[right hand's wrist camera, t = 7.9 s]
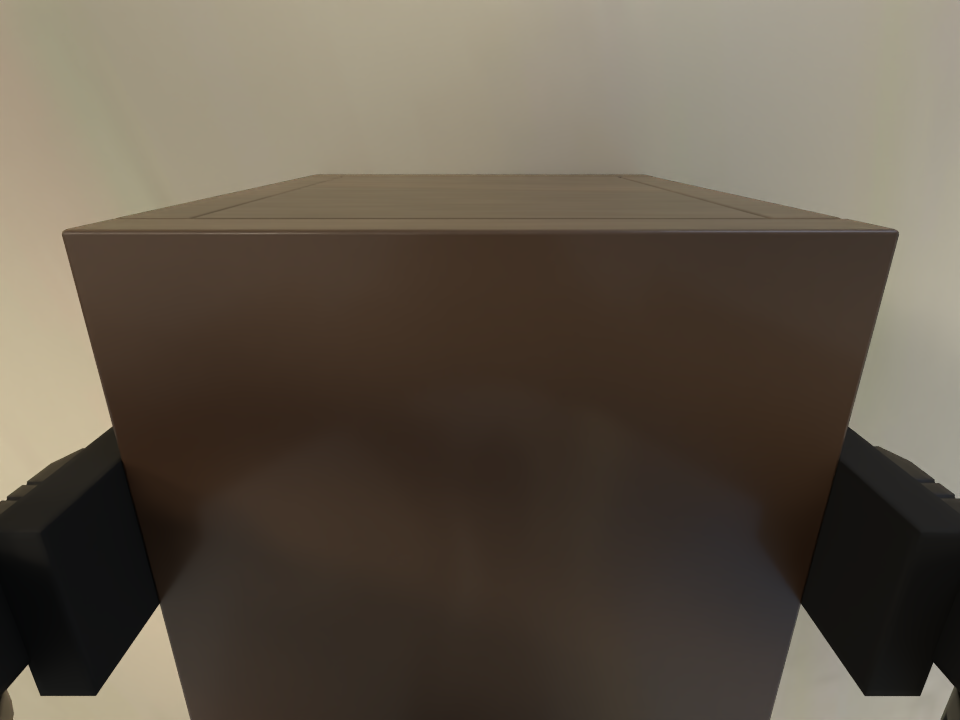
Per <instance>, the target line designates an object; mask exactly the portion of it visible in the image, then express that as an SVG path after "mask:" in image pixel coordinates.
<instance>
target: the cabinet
mask: <svg viewBox="0 0 960 720" xmlns="http://www.w3.org/2000/svg"><path fill="white" fill-rule="evenodd" d="M62 236H63V240H64V244H65V248H66V252H67V255H68V259H69V263H70V267H71V270H72V274H73V278H74V282H75V285H76V289H77V293H78V297H79V301H80V304H81V308H82V312H83V316H84V319H85V323H86V327H87V331H88V335H89V338H90V342H91V346H92V350H93V353H94V357H95V361H96V365H97V368H98V372H99V376H100V380H101V384H102V387H103V391H104V395H105V399H106V402H107V406H108V410H109V414H110V418H111V421H112V425H113V429H114V433H115V436H116V440H117V444H118V448H119V451H120V455H121V459H122V463H123V467H124V470H125V474H126V478H127V482H128V485H129V489H130V493H131V497H132V501H133V504H134V508H135V512H136V516H137V519H138V523H139V527H140V531H141V534H142V538H143V542H144V546H145V550H146V553H147V557H148V561H149V565H150V568H151V572H152V576H153V580H154V583H155V587H156V591H157V595H158V599H159V602H160V606H161V610H162V614H163V617H164V621H165V625H166V629H167V633H168V636H169V640H170V644H171V648H172V651H173V655H174V659H175V663H176V666H177V670H178V674H179V678H180V682H181V685H182V689H183V693H184V697H185V700H186V704H187V708H188V712H189V716H190V719H191V720H770V717H771V714H772V710H773V706H774V702H775V699H776V695H777V691H778V687H779V683H780V680H781V676H782V672H783V668H784V665H785V661H786V657H787V653H788V650H789V646H790V642H791V638H792V635H793V631H794V627H795V623H796V620H797V616H798V612H799V608H800V605H801V601H802V597H803V593H804V590H805V586H806V582H807V578H808V575H809V571H810V567H811V563H812V559H813V556H814V552H815V548H816V544H817V541H818V537H819V533H820V529H821V526H822V522H823V518H824V514H825V511H826V507H827V503H828V499H829V496H830V492H831V488H832V484H833V481H834V477H835V473H836V469H837V466H838V462H839V458H840V454H841V451H842V447H843V443H844V439H845V435H846V432H847V428H848V424H849V420H850V417H851V413H852V409H853V405H854V402H855V398H856V394H857V390H858V387H859V383H860V379H861V375H862V372H863V368H864V364H865V360H866V357H867V353H868V349H869V345H870V342H871V338H872V334H873V330H874V327H875V323H876V319H877V315H878V312H879V308H880V304H881V300H882V296H883V293H884V289H885V285H886V281H887V278H888V274H889V270H890V266H891V263H892V259H893V255H894V251H895V248H896V244H897V240H898V236H899V232H898V231H897V230H895V229H891V228H886V227H882V226H877V225H872V224H868V223H863V222H859V221H854V220H849V219H840V218H838V217H833V216H829V215H824V214H820V213H815V212H811V211H806V210H801V209H797V208H792V207H788V206H783V205H779V204H774V203H770V202H765V201H760V200H756V199H751V198H747V197H742V196H738V195H733V194H728V193H724V192H719V191H715V190H710V189H706V188H701V187H697V186H692V185H687V184H683V183H678V182H674V181H669V180H665V179H660V178H656V177H652V176H648V175H312V176H308V177H303V178H298V179H294V180H289V181H284V182H280V183H275V184H271V185H266V186H261V187H257V188H252V189H248V190H243V191H238V192H234V193H229V194H225V195H220V196H216V197H211V198H206V199H202V200H197V201H193V202H188V203H183V204H179V205H174V206H170V207H165V208H161V209H156V210H151V211H147V212H142V213H138V214H133V215H128V216H124V217H119V218H116V219H111V220H106V221H102V222H97V223H93V224H88V225H83V226H79V227H74V228H70V229H66V230H64V231H63V232H62Z"/></svg>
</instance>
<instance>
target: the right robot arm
mask: <svg viewBox="0 0 960 720" xmlns="http://www.w3.org/2000/svg"><path fill="white" fill-rule="evenodd" d="M159 604H160V602H159V599H158V595H157V591H156V587H155V583H154V580H153V576H152V572H151V568H150V565H149V561H148V557H147V553H146V550H145V546H144V542H143V538H142V534H141V531H140V527H139V523H138V519H137V516H136V512H135V508H134V504H133V501H132V497H131V493H130V489H129V485H128V482H127V478H126V474H125V470H124V467H123V463H122V459H121V455H120V451H119V448H118V444H117V440H116V436H115V433H114V429H113V427H111V428H110V429H109V430H108V431H106V432H105V433H104V434H102V435H101V436H100V437H99V438H97V439H96V440H95V441H93V442H92V443H91V444H90V445H88V446H87V447H86V448H82V449H80V450H78V451H76V452H74V453H72V454H70V455H68V456H66V457H64V458H62V459H60V460H57V461H55V462H53V463H51V464H50V465H48V466H47V467H46V468H44V469H43V470H42V471H40V472H39V473H38V474H37V475H35V476H34V477H33V478H31V479H30V480H29V481H27V485H22V486H21V487H19V488H18V489H17V490H15V491H14V492H13V493H11V494H10V495H9V496H7V500H6V501H1V502H0V720H13V715H14V712H13V706H12V701H11V698H10V696H9V693H8V691H7V688H8V687H9V686H10V685H11V684H12V682H13V681H14V680H15V679H16V678H17V677H18V675H19V674H20V673H21V672H22V671H23V670H24V668H25V667H26V666H27V665H29V667H30V670H31V672H32V675H33V678H34V680H35V683H36V685H37V688H38V690H39V693H40V695H41V696H96V695H97V693H98V692H99V690H100V689H101V688H102V686H103V685H104V683H105V682H106V680H107V679H108V677H109V676H110V675H111V673H112V672H113V670H114V669H115V667H116V666H117V664H118V663H119V662H120V660H121V659H122V657H123V656H124V654H125V653H126V651H127V650H128V649H129V647H130V646H131V644H132V643H133V641H134V640H135V638H136V637H137V635H138V634H139V633H140V631H141V630H142V628H143V627H144V625H145V624H146V622H147V621H148V620H149V618H150V617H151V615H152V614H153V612H154V611H155V609H156V608H157V607H158V605H159ZM801 604H802V606H803V607H804V609H805V610H806V611H807V613H808V614H809V616H810V617H811V619H812V620H813V622H814V623H815V624H816V626H817V627H818V629H819V630H820V632H821V633H822V635H823V636H824V637H825V639H826V640H827V642H828V643H829V645H830V646H831V648H832V649H833V650H834V652H835V653H836V655H837V656H838V658H839V659H840V661H841V662H842V664H843V665H844V666H845V668H846V669H847V671H848V672H849V674H850V675H851V677H852V678H853V679H854V681H855V682H856V684H857V685H858V687H859V688H860V690H861V691H862V692H863V694H864V695H865V696H920V695H921V693H922V690H923V687H924V685H925V682H926V680H927V677H928V675H929V672H930V670H931V667H932V664H933V662H934V663H935V664H936V666H937V667H938V668H939V669H940V670H941V671H942V673H943V674H944V675H945V676H946V677H947V678H948V679H949V681H950V682H951V683H952V684H953V685H954V689H953V691H952V693H951V696H950V698H949V701H948V703H947V705H946V708H945V710H944V713H943V715H942V717H941V720H960V499H955V495H954V494H953V493H952V492H950V491H949V490H948V489H946V488H945V487H944V486H942V485H941V484H940V483H935V482H934V479H933V478H932V477H930V476H929V475H928V474H926V473H925V472H924V471H922V470H921V469H920V468H918V467H917V466H916V465H914V464H913V463H912V462H910V461H908V460H906V459H904V458H902V457H900V456H898V455H896V454H893V453H891V452H889V451H887V450H885V449H883V448H881V447H879V446H872V445H871V444H870V443H868V442H867V441H866V440H865V439H863V438H862V437H861V436H860V435H858V434H857V433H856V432H854V431H853V430H852V429H851V428H849V427H848V428H847V432H846V435H845V439H844V443H843V447H842V451H841V454H840V458H839V462H838V466H837V469H836V473H835V477H834V481H833V484H832V488H831V492H830V496H829V499H828V503H827V507H826V511H825V514H824V518H823V522H822V526H821V529H820V533H819V537H818V541H817V544H816V548H815V552H814V556H813V559H812V563H811V567H810V571H809V575H808V578H807V582H806V586H805V590H804V593H803V597H802V601H801Z"/></svg>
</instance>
